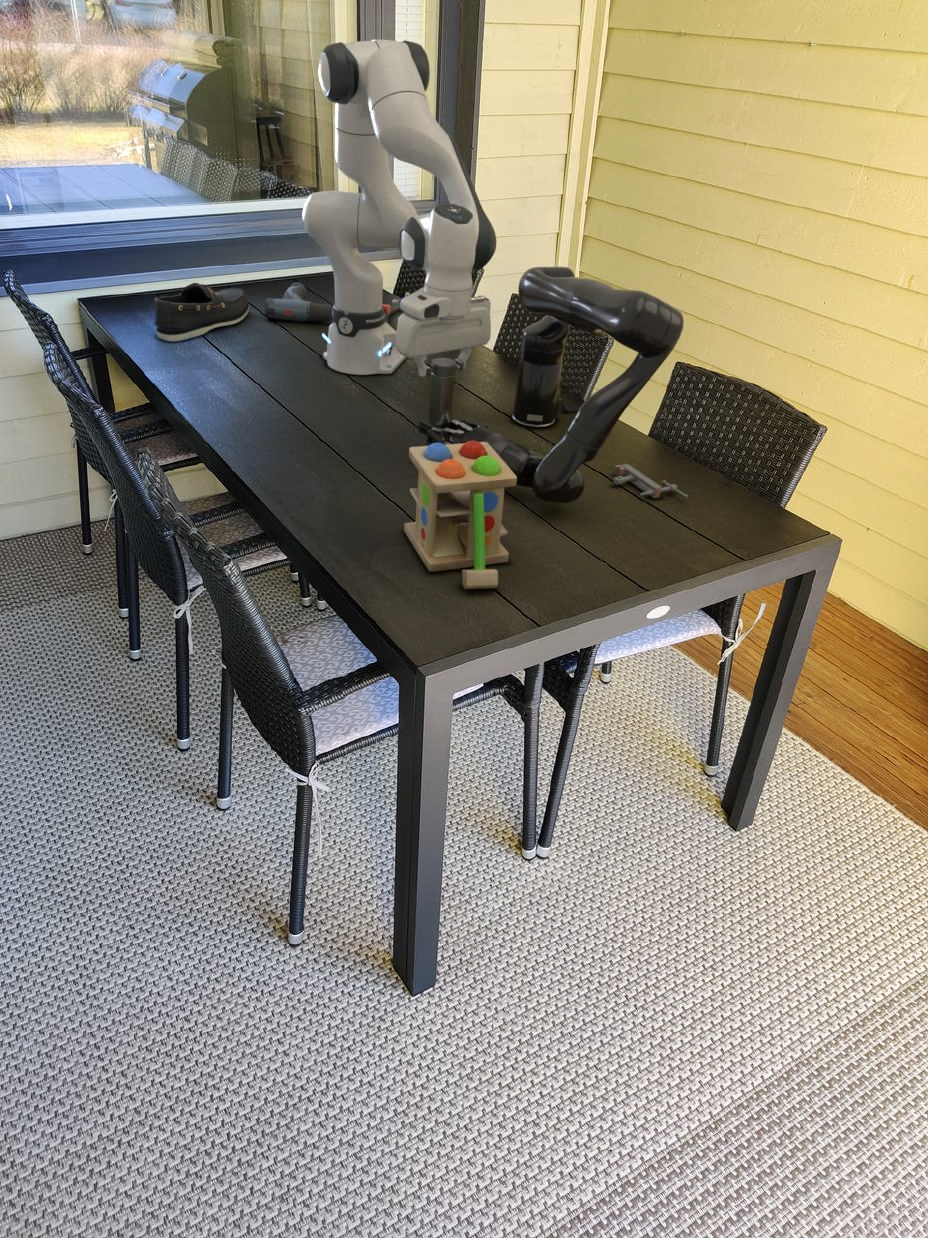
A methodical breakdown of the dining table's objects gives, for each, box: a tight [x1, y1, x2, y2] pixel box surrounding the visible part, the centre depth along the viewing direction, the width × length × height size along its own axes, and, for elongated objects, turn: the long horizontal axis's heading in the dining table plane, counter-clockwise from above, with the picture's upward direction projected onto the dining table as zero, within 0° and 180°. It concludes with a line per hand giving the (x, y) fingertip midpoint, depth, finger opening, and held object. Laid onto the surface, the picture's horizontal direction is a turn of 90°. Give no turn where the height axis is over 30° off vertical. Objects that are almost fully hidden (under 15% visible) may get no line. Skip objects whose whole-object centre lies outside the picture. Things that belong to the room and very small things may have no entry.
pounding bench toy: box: [403, 441, 517, 590], centre depth 161 cm, size 23×14×18 cm, turn 20°
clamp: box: [612, 463, 689, 500], centre depth 193 cm, size 15×2×10 cm
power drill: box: [264, 282, 333, 322], centre depth 265 cm, size 5×19×20 cm
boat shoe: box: [153, 282, 250, 342], centre depth 250 cm, size 13×33×10 cm, turn 147°
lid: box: [430, 357, 457, 375], centre depth 189 cm, size 5×5×2 cm
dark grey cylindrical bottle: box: [426, 371, 455, 446], centre depth 194 cm, size 4×4×19 cm
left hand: (442, 372), depth 189 cm, fingers open, 7 cm apart
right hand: (429, 423), depth 197 cm, fingers closed on dark grey cylindrical bottle, 4 cm apart
